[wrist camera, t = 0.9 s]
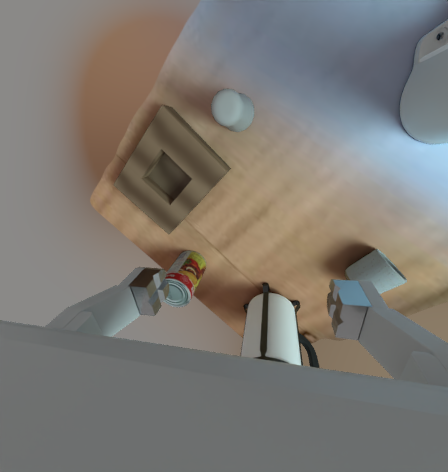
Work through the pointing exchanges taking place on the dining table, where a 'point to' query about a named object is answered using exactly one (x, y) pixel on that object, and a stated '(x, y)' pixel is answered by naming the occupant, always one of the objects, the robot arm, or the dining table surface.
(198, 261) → the canned food
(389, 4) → the dining table surface
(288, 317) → the coffee press
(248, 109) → the salt shaker
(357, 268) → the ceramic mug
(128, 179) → the walnut holder
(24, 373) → the robot arm
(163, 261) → the dining table surface
